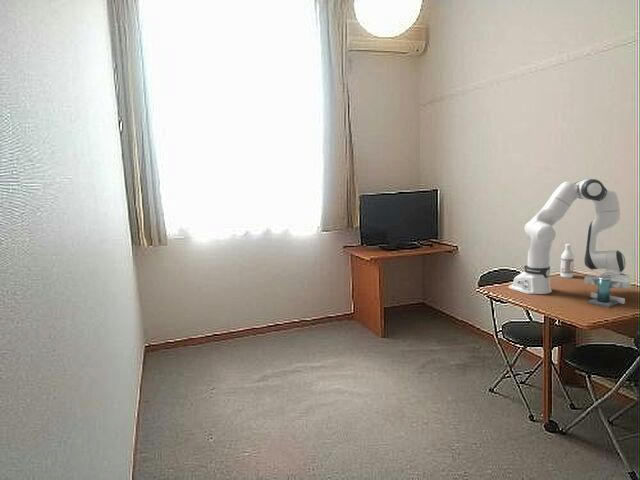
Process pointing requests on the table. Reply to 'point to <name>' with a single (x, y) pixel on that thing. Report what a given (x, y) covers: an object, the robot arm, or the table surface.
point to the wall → (620, 300)
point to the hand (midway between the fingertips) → (603, 285)
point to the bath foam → (567, 262)
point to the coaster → (609, 304)
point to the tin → (603, 289)
